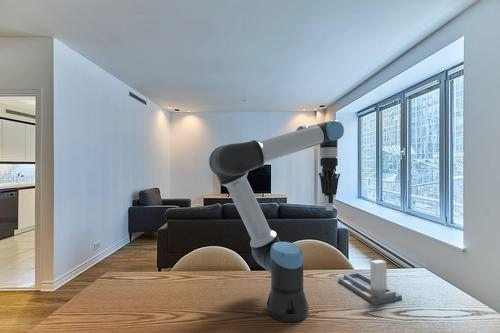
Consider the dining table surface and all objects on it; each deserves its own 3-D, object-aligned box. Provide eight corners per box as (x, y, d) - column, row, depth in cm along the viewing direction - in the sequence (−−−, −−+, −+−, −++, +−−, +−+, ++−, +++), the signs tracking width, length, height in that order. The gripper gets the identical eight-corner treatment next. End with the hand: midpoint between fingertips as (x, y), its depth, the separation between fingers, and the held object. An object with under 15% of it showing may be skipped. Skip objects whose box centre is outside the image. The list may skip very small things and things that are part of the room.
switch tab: (370, 290, 110) (370, 260, 110) (380, 289, 111) (380, 259, 111) (376, 294, 107) (376, 263, 107) (386, 292, 108) (386, 261, 108)
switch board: (338, 281, 123) (338, 274, 123) (362, 277, 127) (362, 271, 127) (374, 304, 102) (374, 296, 102) (401, 299, 106) (401, 291, 106)
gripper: (345, 157, 117) (345, 212, 117) (327, 158, 130) (327, 207, 130) (330, 156, 115) (330, 213, 115) (313, 157, 127) (314, 208, 127)
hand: (329, 210), depth 122 cm, fingers closed
